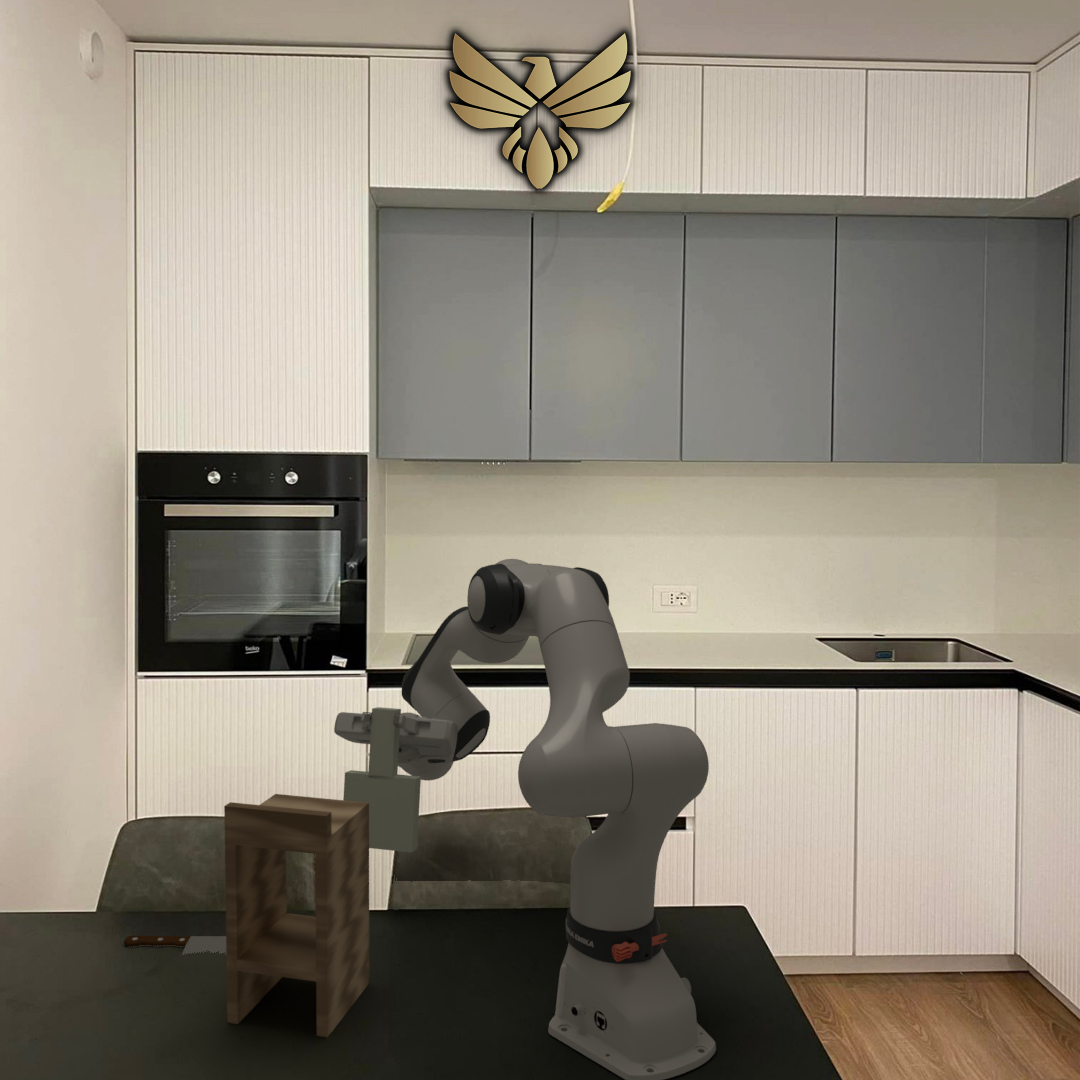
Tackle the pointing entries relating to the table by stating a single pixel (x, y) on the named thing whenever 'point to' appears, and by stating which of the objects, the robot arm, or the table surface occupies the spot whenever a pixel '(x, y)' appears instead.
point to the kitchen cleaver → (182, 942)
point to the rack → (289, 939)
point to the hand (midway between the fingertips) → (381, 718)
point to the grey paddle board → (386, 788)
